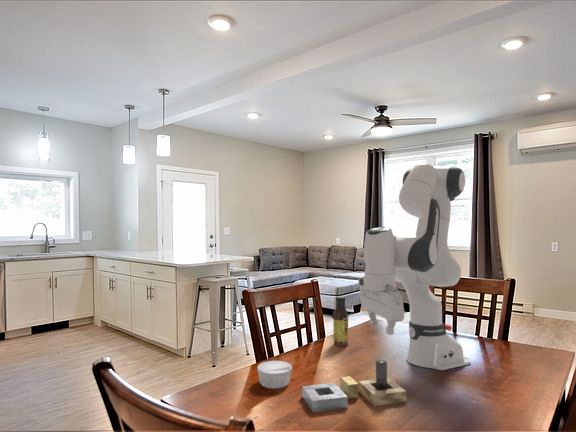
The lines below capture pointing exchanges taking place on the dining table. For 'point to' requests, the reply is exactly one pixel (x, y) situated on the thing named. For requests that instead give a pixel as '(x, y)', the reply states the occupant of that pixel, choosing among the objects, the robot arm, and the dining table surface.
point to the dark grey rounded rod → (381, 375)
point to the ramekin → (274, 374)
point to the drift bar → (349, 387)
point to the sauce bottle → (340, 322)
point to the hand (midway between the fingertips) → (381, 329)
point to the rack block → (382, 392)
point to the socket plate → (324, 397)
